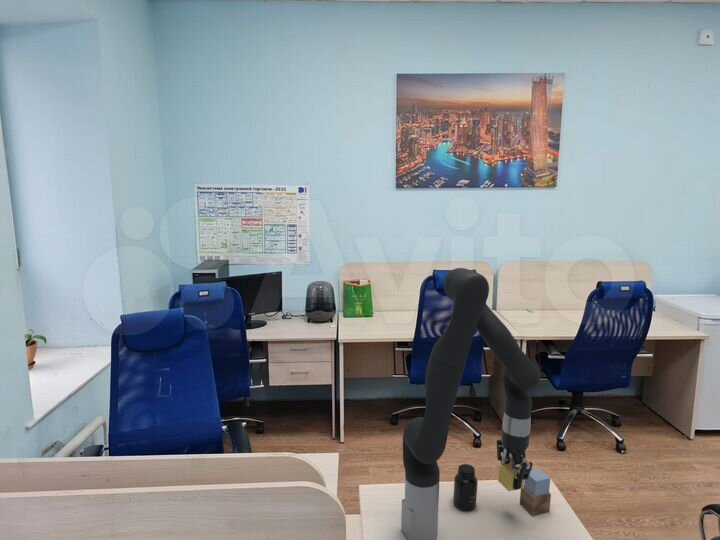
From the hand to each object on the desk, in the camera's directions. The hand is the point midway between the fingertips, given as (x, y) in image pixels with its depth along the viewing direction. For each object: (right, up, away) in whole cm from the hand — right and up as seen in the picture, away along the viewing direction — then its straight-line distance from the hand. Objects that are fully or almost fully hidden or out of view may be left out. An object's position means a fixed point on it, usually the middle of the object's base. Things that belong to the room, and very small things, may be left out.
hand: (510, 482), depth 144 cm
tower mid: (+9, -4, +4) cm, 11 cm away
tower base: (+9, -10, +6) cm, 14 cm away
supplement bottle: (-12, -10, +7) cm, 17 cm away
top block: (0, -1, 0) cm, 1 cm away
